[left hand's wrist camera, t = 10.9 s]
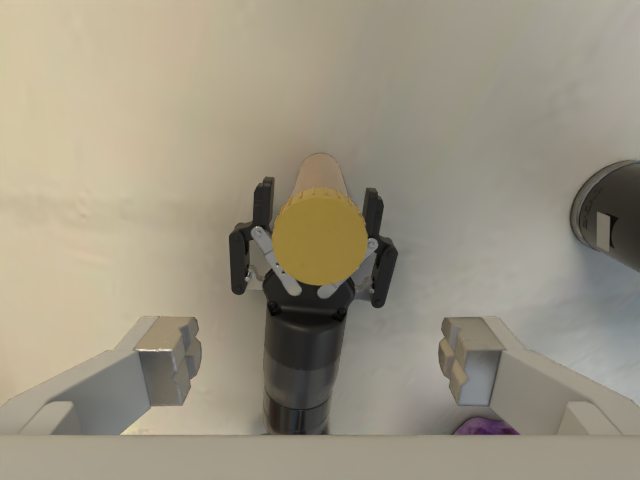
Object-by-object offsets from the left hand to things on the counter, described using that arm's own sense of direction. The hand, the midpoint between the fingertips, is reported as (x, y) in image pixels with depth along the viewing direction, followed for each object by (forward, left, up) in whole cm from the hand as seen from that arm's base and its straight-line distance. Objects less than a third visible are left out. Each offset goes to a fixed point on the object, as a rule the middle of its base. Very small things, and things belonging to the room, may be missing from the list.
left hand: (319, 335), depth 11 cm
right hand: (0, 0, -20) cm, 20 cm away
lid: (0, 0, -8) cm, 8 cm away
